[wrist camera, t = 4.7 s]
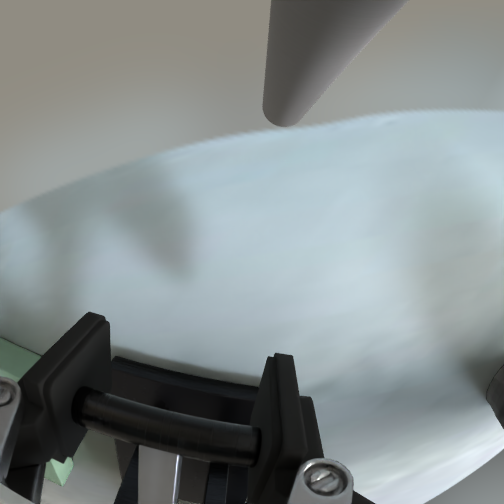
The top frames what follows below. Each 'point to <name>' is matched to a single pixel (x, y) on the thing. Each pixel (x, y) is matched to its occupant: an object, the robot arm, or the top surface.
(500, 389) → the beverage cup
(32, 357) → the control block
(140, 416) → the lever
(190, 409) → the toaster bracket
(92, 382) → the robot arm
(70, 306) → the top surface
